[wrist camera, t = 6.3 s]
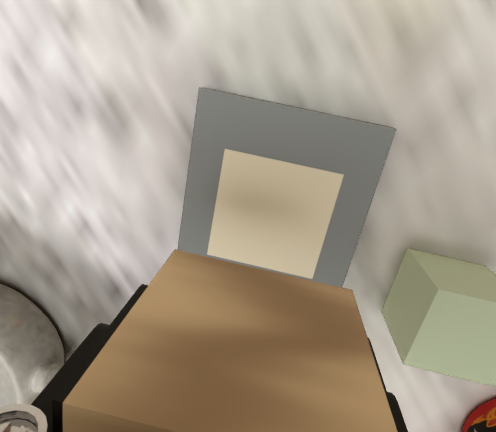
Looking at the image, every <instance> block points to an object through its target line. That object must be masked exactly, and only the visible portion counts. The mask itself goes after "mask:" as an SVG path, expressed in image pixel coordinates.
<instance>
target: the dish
mask: <svg viewBox="0 0 496 432" xmlns="http://www.w3.org/2000/svg"><path fill="white" fill-rule="evenodd" d="M63 365H64V349H63V344H62V341H61V339H60V337H59V335H58V333H57V330H56V329H55V327H54V326H53V324H52V323H51V321H50V320H49V319H48V318H47V317H46V315H45V314H44V313H43V312H42V311H41V310H40V309H39V308H38V307H37V306H36V305H35V304H34V303H33V302H32V301H30V300H29V299H27V298H26V297H25V296H23V295H22V294H21V293H19V292H17V291H16V290H14V289H12V288H10V287H7V286H5V285H2V284H0V408H1V407H4V406H6V405H13V404H28V405H31V404H32V402H33V401H34V400H35V399H36V398H37V396H38V395H39V394H40V393H41V392H42V390H43V389H44V388H45V387H46V386H47V384H48V383H49V382H50V381H51V380H52V378H53V377H54V376H55V375H56V374H57V372H58V371H59V370H60V369H61V367H62V366H63Z"/></svg>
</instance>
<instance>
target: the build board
mask: <svg viewBox="0 0 496 432" xmlns="http://www.w3.org/2000/svg"><path fill="white" fill-rule="evenodd" d="M395 132H396V129H395V128H392V127H388V126H383V125H378V124H373V123H369V122H364V121H359V120H354V119H350V118H345V117H340V116H335V115H330V114H326V113H321V112H316V111H311V110H307V109H302V108H297V107H292V106H288V105H283V104H278V103H273V102H269V101H264V100H259V99H254V98H250V97H245V96H240V95H235V94H231V93H226V92H221V91H216V90H211V89H207V88H199V92H198V100H197V107H196V115H195V122H194V130H193V137H192V145H191V152H190V160H189V167H188V175H187V182H186V190H185V197H184V205H183V213H182V220H181V228H180V235H179V243H178V250H180V251H184V252H188V253H193V254H197V255H202V256H206V257H210V258H215V259H219V260H223V261H228V262H232V263H236V264H241V265H245V266H250V267H254V268H258V269H263V270H267V271H271V272H276V273H280V274H284V275H289V276H293V277H298V278H302V279H306V280H311V281H315V282H319V283H324V284H328V285H332V286H337V287H341V288H342V286H343V283H344V280H345V277H346V274H347V271H348V268H349V265H350V262H351V260H352V257H353V254H354V251H355V248H356V245H357V242H358V239H359V236H360V233H361V231H362V228H363V225H364V222H365V219H366V216H367V213H368V210H369V207H370V204H371V201H372V199H373V196H374V193H375V190H376V187H377V184H378V181H379V178H380V175H381V172H382V170H383V167H384V164H385V161H386V158H387V155H388V152H389V149H390V146H391V143H392V140H393V138H394V135H395Z"/></svg>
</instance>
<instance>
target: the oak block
mask: <svg viewBox="0 0 496 432" xmlns="http://www.w3.org/2000/svg"><path fill="white" fill-rule="evenodd" d="M63 432H397V429H396V425H395V422H394V419H393V416H392V413H391V410H390V407H389V404H388V401H387V397H386V394H385V391H384V388H383V385H382V382H381V379H380V376H379V372H378V369H377V366H376V363H375V360H374V357H373V354H372V351H371V347H370V344H369V341H368V338H367V335H366V332H365V329H364V326H363V323H362V319H361V316H360V313H359V310H358V307H357V304H356V301H355V298H354V294H353V291H352V290H350V289H346V288H341V287H337V286H332V285H328V284H324V283H319V282H315V281H311V280H306V279H302V278H298V277H293V276H289V275H284V274H280V273H276V272H271V271H267V270H263V269H258V268H254V267H250V266H245V265H241V264H236V263H232V262H228V261H223V260H219V259H215V258H210V257H206V256H202V255H197V254H193V253H188V252H184V251H180V250H174V251H173V253H172V254H171V255H170V257H169V258H168V259H167V261H166V262H165V264H164V265H163V266H162V268H161V269H160V270H159V272H158V273H157V275H156V276H155V277H154V279H153V280H152V281H151V283H150V284H149V285H148V287H147V288H146V290H145V291H144V292H143V294H142V295H141V296H140V298H139V299H138V301H137V302H136V303H135V305H134V306H133V307H132V309H131V310H130V311H129V313H128V314H127V316H126V317H125V318H124V320H123V321H122V322H121V324H120V325H119V327H118V328H117V329H116V331H115V332H114V333H113V335H112V336H111V337H110V339H109V340H108V342H107V343H106V344H105V346H104V347H103V348H102V350H101V351H100V353H99V354H98V355H97V357H96V358H95V359H94V361H93V362H92V363H91V365H90V366H89V368H88V369H87V370H86V372H85V373H84V374H83V376H82V377H81V379H80V380H79V381H78V383H77V384H76V385H75V387H74V388H73V389H72V391H71V392H70V394H69V395H68V396H67V398H66V399H65V400H64V402H63Z"/></svg>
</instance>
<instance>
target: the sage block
mask: <svg viewBox="0 0 496 432" xmlns="http://www.w3.org/2000/svg"><path fill="white" fill-rule="evenodd" d="M381 312H382V314H383V317H384V319H385V322H386V324H387V326H388V329H389V331H390V334H391V336H392V338H393V341H394V343H395V346H396V348H397V350H398V353H399V355H400V358H401V360H402V362H403V364H405V365H409V366H413V367H417V368H421V369H425V370H429V371H433V372H437V373H441V374H445V375H449V376H453V377H457V378H461V379H465V380H469V381H473V382H478V383H482V384H486V385H490V386H494V384H495V382H496V275H495V274H494V273H493V272H492V271H491V270H489V269H488V268H487V267H486V266H483V265H479V264H474V263H470V262H466V261H461V260H457V259H453V258H448V257H444V256H440V255H435V254H431V253H427V252H422V251H418V250H414V249H409V248H407V250H406V253H405V255H404V258H403V260H402V262H401V265H400V267H399V270H398V272H397V275H396V277H395V279H394V282H393V284H392V287H391V289H390V292H389V294H388V296H387V299H386V301H385V304H384V306H383V309H382V311H381Z"/></svg>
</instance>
